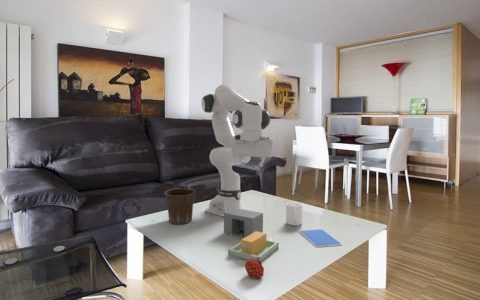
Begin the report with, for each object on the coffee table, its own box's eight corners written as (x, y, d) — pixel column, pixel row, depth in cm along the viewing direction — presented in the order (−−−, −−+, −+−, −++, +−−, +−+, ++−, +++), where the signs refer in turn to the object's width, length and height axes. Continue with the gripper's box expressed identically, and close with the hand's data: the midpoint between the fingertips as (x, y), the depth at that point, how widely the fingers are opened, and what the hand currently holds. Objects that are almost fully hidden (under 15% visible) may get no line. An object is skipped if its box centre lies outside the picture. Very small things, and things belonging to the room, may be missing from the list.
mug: (303, 228, 163) (304, 208, 162) (287, 228, 164) (287, 208, 163) (300, 221, 175) (301, 202, 174) (285, 220, 176) (285, 202, 175)
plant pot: (181, 228, 162) (181, 196, 161) (158, 222, 171) (157, 192, 169) (201, 219, 176) (201, 190, 175) (179, 215, 185) (179, 187, 183)
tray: (228, 255, 130) (228, 249, 130) (250, 241, 146) (250, 236, 145) (258, 263, 123) (258, 257, 123) (278, 248, 138) (278, 242, 138)
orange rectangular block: (240, 254, 130) (240, 240, 129) (256, 244, 140) (256, 231, 140) (250, 257, 127) (250, 242, 127) (266, 247, 138) (266, 233, 137)
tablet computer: (342, 246, 142) (342, 243, 142) (316, 248, 139) (316, 245, 139) (322, 231, 161) (322, 229, 161) (298, 233, 158) (298, 230, 158)
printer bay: (223, 233, 156) (223, 212, 155) (234, 227, 164) (235, 208, 164) (252, 239, 148) (253, 218, 147) (262, 233, 156) (263, 213, 155)
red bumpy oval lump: (254, 287, 110) (238, 272, 115) (266, 277, 115) (250, 263, 119) (259, 274, 108) (242, 259, 112) (271, 265, 112) (254, 250, 117)
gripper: (275, 137, 147) (274, 166, 149) (237, 135, 158) (237, 163, 159) (269, 137, 142) (268, 168, 143) (230, 136, 152) (230, 165, 154)
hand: (251, 166), depth 151 cm, fingers open, 8 cm apart
